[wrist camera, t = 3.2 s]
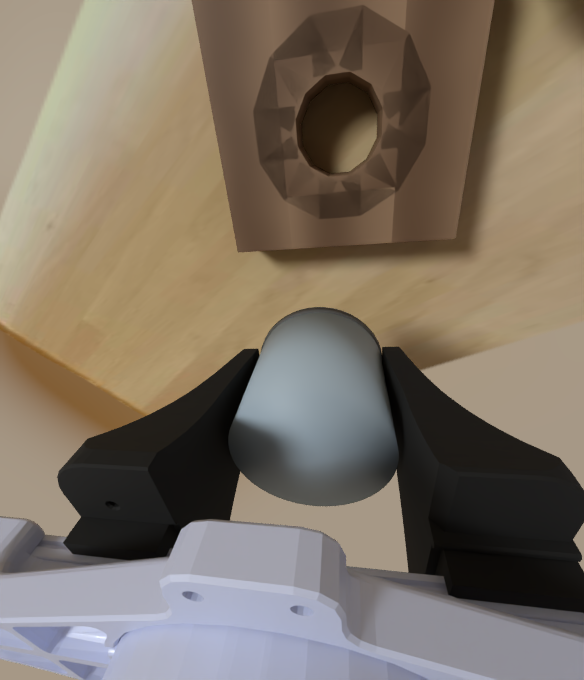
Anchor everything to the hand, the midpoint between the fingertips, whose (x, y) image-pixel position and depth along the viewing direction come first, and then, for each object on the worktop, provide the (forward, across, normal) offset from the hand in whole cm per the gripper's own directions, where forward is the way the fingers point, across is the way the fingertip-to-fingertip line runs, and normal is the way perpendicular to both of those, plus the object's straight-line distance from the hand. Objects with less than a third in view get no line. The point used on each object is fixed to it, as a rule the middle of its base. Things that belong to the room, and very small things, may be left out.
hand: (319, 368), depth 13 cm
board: (+10, -1, -9) cm, 13 cm away
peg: (+3, 0, 0) cm, 3 cm away
